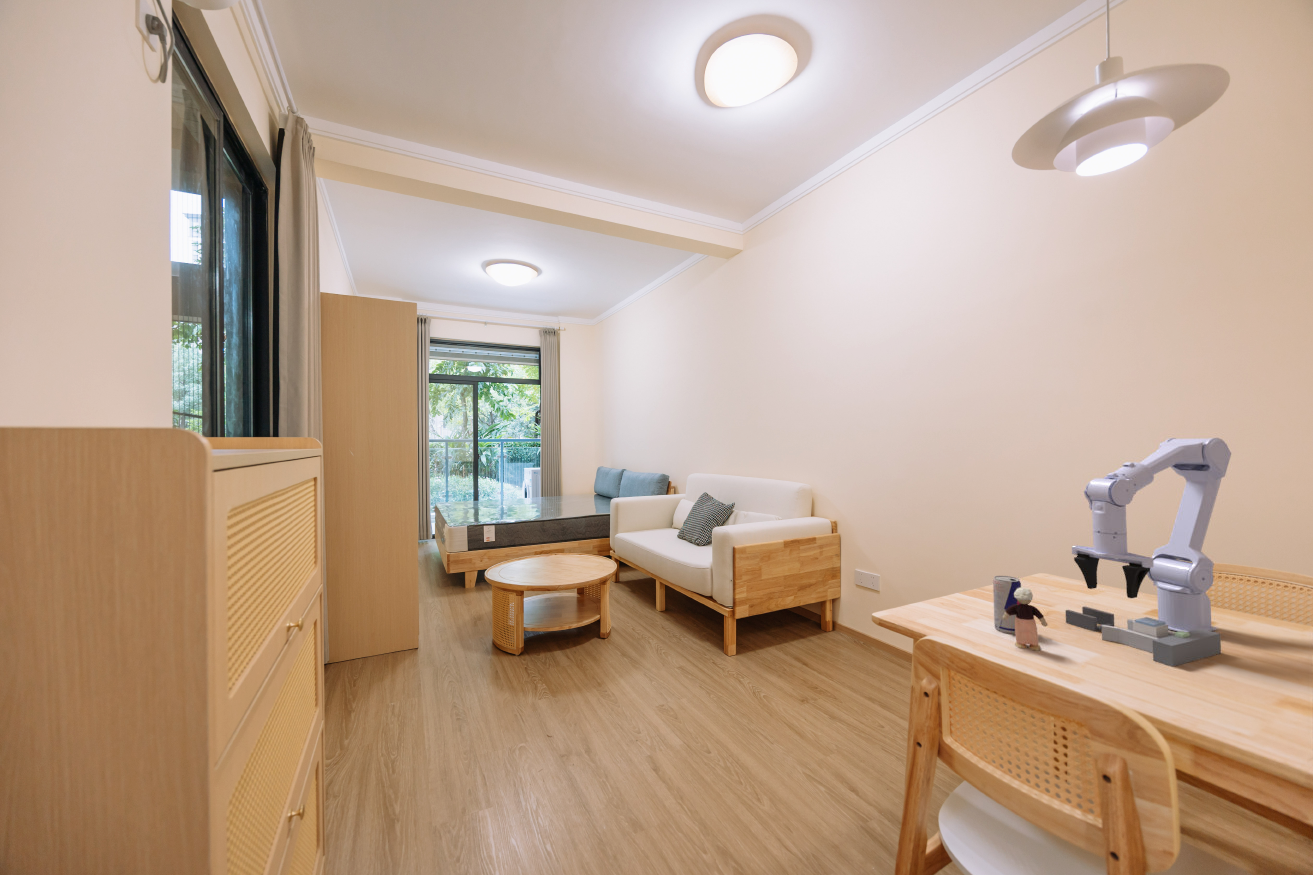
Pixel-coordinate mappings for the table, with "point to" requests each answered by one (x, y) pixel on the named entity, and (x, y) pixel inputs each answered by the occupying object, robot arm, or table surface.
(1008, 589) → the energy drink
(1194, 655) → the grey forked block
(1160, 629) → the plug
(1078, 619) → the gray vise
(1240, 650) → the table surface
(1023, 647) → the grandmother figurine
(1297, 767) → the table surface
